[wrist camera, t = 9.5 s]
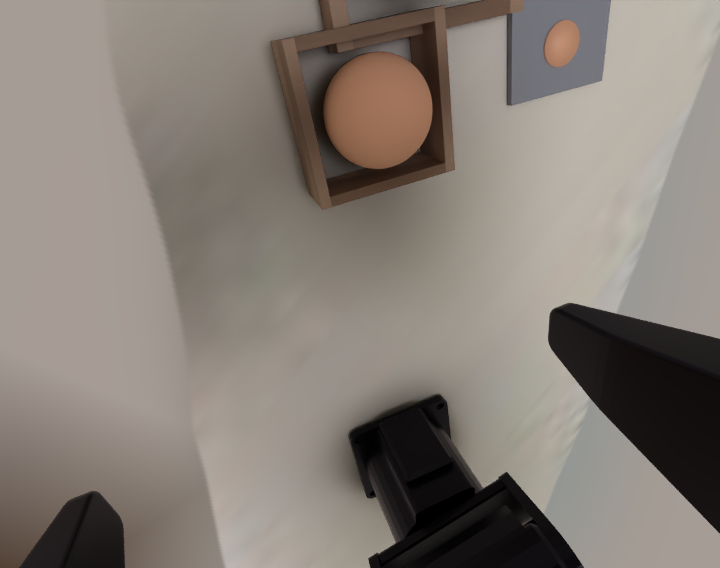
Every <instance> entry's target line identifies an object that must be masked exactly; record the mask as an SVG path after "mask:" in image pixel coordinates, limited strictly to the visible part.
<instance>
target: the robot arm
mask: <svg viewBox="0 0 720 568" xmlns="http://www.w3.org/2000/svg"><path fill="white" fill-rule="evenodd" d="M548 341H549V345H550V347H551V349H552V351H553V352H554V353H555V355H556V356H557V357H558V358H559V360H560V361H561V362H562V363H563V365H564V366H565V367H566V368H567V370H568V371H569V372H570V373H571V375H572V376H573V377H574V378H575V380H576V381H577V382H578V383H579V385H580V386H581V387H582V388H583V390H584V391H585V392H586V393H587V395H588V396H589V397H590V398H591V400H592V401H593V402H594V403H595V404H596V405H597V407H598V408H599V409H600V410H601V411H602V412H603V413H604V414H605V415H606V416H607V418H608V419H609V420H610V421H611V422H612V423H613V424H614V425H615V426H616V427H617V428H618V429H619V430H620V431H621V432H622V433H623V434H624V435H625V436H626V437H627V438H628V439H629V440H630V441H631V442H632V443H633V444H634V445H635V446H636V447H637V449H638V450H639V451H641V453H642V454H643V455H644V456H645V457H646V458H647V459H648V460H649V461H650V462H651V463H652V464H653V465H654V466H655V467H656V468H657V469H658V470H659V471H660V472H661V473H662V474H663V475H664V476H665V477H666V478H667V480H668V481H669V482H670V483H671V484H672V485H673V486H674V487H675V488H676V489H677V490H679V492H680V493H681V494H682V495H683V496H684V497H685V498H686V499H687V500H688V501H689V502H690V503H691V504H692V505H693V506H694V507H695V508H696V509H697V510H698V512H699V513H701V515H703V517H704V518H705V519H706V520H707V521H708V522H709V523H710V524H711V525H712V526H713V527H714V528H715V529H716V530H717V531H718V532H719V533H720V339H718V338H714V337H710V336H706V335H701V334H697V333H694V332H690V331H685V330H681V329H677V328H673V327H669V326H665V325H661V324H657V323H652V322H648V321H644V320H640V319H636V318H632V317H627V316H623V315H619V314H615V313H611V312H607V311H603V310H599V309H595V308H590V307H586V306H582V305H578V304H574V303H567V304H564V305H562V306H559V307H557V308H554V309H553V310H552V311H551V313H550V319H549V333H548ZM349 440H350V444H351V447H352V451H353V454H354V457H355V461H356V464H357V467H358V471H359V474H360V478H361V481H362V484H363V488H364V491H365V494H366V496H367V498H375V497H377V499H378V501H379V503H380V506H381V508H382V510H383V513H384V515H385V518H386V520H387V522H388V525H389V527H390V530H391V532H392V534H393V537H394V539H395V541H396V544H394V545H392V546H391V547H389V548H388V549H386V550H384V551H383V552H381V553H380V554H378V553H376V554H374V555H373V556H371V557H370V558H368V559H369V564H370V568H584V567H583V565H582V564H581V563H580V561H579V559H578V558H577V556H576V555H575V553H574V552H573V551H572V549H571V548H570V546H569V545H568V544H567V542H566V541H565V540H564V538H563V537H562V536H561V534H560V533H559V532H558V531H557V530H556V529H555V527H554V526H553V525H552V524H551V522H550V521H549V520H548V519H547V518H546V517H545V515H544V514H543V513H542V512H541V511H540V510H539V509H538V507H537V506H536V505H535V504H534V503H533V502H532V500H531V499H530V498H529V497H528V496H527V495H526V493H525V492H524V491H523V490H522V489H521V488H520V487H519V485H518V484H517V483H516V482H515V481H514V480H513V478H512V477H511V476H510V475H509V474H508V473H507V472H506V473H504V474H502V475H501V476H499V477H498V478H499V479H498V480H496V481H495V482H493V483H492V484H490V485H488V486H487V487H485V488H483V487H482V485H481V484H480V483H479V481H478V480H477V478H476V477H475V475H474V474H473V472H472V471H471V469H470V468H469V466H468V465H467V463H466V462H465V460H464V459H463V457H462V456H461V454H460V453H459V451H458V450H457V448H456V447H455V445H454V444H453V442H452V441H451V436H450V426H449V416H448V406H447V402H446V400H445V399H444V398H443V397H442V396H437V397H434V398H432V399H430V400H427V401H425V402H422V403H420V404H418V405H415V406H413V407H410V408H408V409H406V410H403V411H401V412H398V413H396V414H394V415H391V416H389V417H386V418H384V419H381V420H379V421H377V422H374V423H372V424H369V425H367V426H365V427H362V428H360V429H357V430H355V431H353V432H352V433H351V434H350V436H349ZM123 529H124V528H123V523H122V520H121V518H120V516H119V515H118V513H117V512H116V511H115V510H114V509H113V508H112V506H111V505H110V504H109V503H108V502H107V501H106V499H105V498H104V497H103V496H102V495H101V494H100V493H99V492H97V491H91V492H88V493H85V494H83V495H80V496H78V497H75V498H73V499H71V500H69V501H68V502H67V503H66V504H65V505H64V506H63V508H62V509H61V510H60V512H59V513H58V514H57V516H56V517H55V519H54V520H53V521H52V523H51V524H50V525H49V527H48V528H47V530H46V531H45V532H44V534H43V535H42V536H41V538H40V539H39V541H38V542H37V543H36V545H35V546H34V548H33V549H32V550H31V552H30V553H29V554H28V556H27V557H26V558H25V560H24V561H23V563H22V564H21V565H20V567H19V568H125V553H124V530H123Z"/></svg>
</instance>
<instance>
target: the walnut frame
mask: <svg viewBox="0 0 720 568" xmlns="http://www.w3.org/2000/svg"><path fill="white" fill-rule="evenodd" d="M420 24H422V26H423V34H418V35H414V36H410V46H411V56H412V64H413V65H414V66H415V67H416V68H417V69H418V70H419V72H420V73H421V74H422V76H423V77H424V79H425V81H426V83H427V85H428V87H429V90H430V94H431V98H432V110H433V112H432V121H431V125H430V129H429V132H428V134H427V136H426V138H425V140H424V142H423V144H422V145H421V152H420V153H416V154H413V155H412V156H411V157H410V158H408V159H407V160H406V161H404V162H402V163H400V164H398V165H396V166H393V167H389V168H385V169H370V168H364V169H361V170H357V171H354V172H350V173H347V174H344V175H340V176H337V177H333V178H330V179H326V178H325V173H324V169H323V164H322V160H321V155H320V151H319V147H318V142H317V138H316V133H315V129H314V125H313V120H312V116H311V111H310V107H309V103H308V98H307V94H306V89H305V85H304V81H303V76H302V72H301V67H300V63H299V59H298V54H297V52H299V51H303V50H308V49H312V48H317V47H321V46H326V45H330V44H335V43H339V42H344V41H348V40H353V39H357V38H361V37H366V36H370V35H375V34H379V33H384V32H388V31H393V30H397V29H402V28H406V27H411V26H415V25H420ZM271 45H272V48H273V52H274V56H275V60H276V64H277V68H278V72H279V76H280V80H281V84H282V88H283V92H284V96H285V100H286V104H287V108H288V112H289V116H290V120H291V124H292V128H293V132H294V136H295V139H296V143H297V147H298V151H299V155H300V159H301V163H302V167H303V171H304V175H305V179H306V183H307V187H308V191H309V194H310V195H311V197H312V198H313V199H314V200H315V201H316V203H317V204H318V205H319V206H320V207H321V209H322V210H323V209H327V208H330V207H333V206H336V205H340V204H343V203H346V202H350V201H353V200H356V199H360V198H363V197H366V196H369V195H373V194H376V193H379V192H383V191H386V190H389V189H393V188H396V187H399V186H403V185H406V184H409V183H412V182H416V181H419V180H422V179H426V178H429V177H432V176H436V175H439V174H442V173H446V172H449V171H452V170H455V165H454V149H453V133H452V117H451V101H450V84H449V68H448V52H447V36H446V20H445V5H443V6H437V7H431V8H426V9H420V10H415V11H410V12H405V13H401V14H396V15H391V16H387V17H382V18H377V19H373V20H368V21H364V22H359V23H354V24H350V25H348V26H343V27H339V28H334V29H328V30H322V31H317V32H313V33H308V34H303V35H299V36H294V37H290V38H285V39H280V40H276V41H271Z"/></svg>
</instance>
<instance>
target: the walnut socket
mask: <svg viewBox="0 0 720 568" xmlns="http://www.w3.org/2000/svg"><path fill="white" fill-rule="evenodd" d="M319 3H320V8H321V14H322V19H323V24H324V29H325V30H328V29H334V28H339V27H343V26H348V25H350V22H349V16H348V10H347V4H346V0H319ZM523 10H524V0H481V1H477V2H472V3H468V4H463V5H459V6H454V7H449V8H445V20H446V28H449V27H453V26H458V25H462V24H467V23H471V22H475V21H480V20H484V19H488V18H493V17H497V16H502V15H506V14H510V13H515V12H519V11H523ZM418 34H423V26H422V24H420V25H415V26H411V27H406V28H402V29H397V30H393V31H388V32H384V33H379V34H375V35H370V36H366V37H361V38H357V39H353V40H348V41H344V42H339V43H335V44H330V45H328V50H329V53H340V52H344V51H348V50H353V49H357V48H362V47H366V46H370V45H375V44H379V43H383V42H388V41H392V40H397V39H401V38H405V37H410V36H414V35H418Z"/></svg>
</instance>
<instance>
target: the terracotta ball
mask: <svg viewBox="0 0 720 568" xmlns="http://www.w3.org/2000/svg"><path fill="white" fill-rule="evenodd" d="M432 112H433V110H432V98H431V94H430V90H429V87H428V85H427V83H426V81H425V79H424V77H423V76H422V74H421V73H420V72H419V70H418V69H417V68H416V67H415V66H414V65H413V64H412V63H410V62H409V61H408V60H406V59H404V58H403V57H401V56H399V55H396V54H393V53H388V52H369V53H365V54H362V55H359V56H357V57H355V58H353V59H351V60H350V61H348V62H347V63H346V64H345V65H343V66H342V67H341V68H340V69H339V70H338V72H337V73H336V74H335V75H334V77H333V79H332V80H331V82H330V84H329V86H328V89H327V92H326V95H325V100H324V108H323V114H324V123H325V127H326V131H327V133H328V136H329V138H330V140H331V142H332V143H333V145H334V146H335V148H336V149H337V150H338V151H339V152H340V153H341V154H342V155H343V156H344V157H345V158H346V159H348V160H349V161H351V162H352V163H354V164H356V165H359V166H361V167H365V168H370V169H385V168H389V167H393V166H396V165H398V164H400V163H402V162H404V161H406V160H407V159H408V158H410V157H411V156H412V155H413V154H414V153H415V152H416V151H417V150H418V149H419V148H420V146H421V145H422V144H423V142H424V140H425V138H426V136H427V134H428V132H429V129H430V125H431V121H432Z"/></svg>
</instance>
